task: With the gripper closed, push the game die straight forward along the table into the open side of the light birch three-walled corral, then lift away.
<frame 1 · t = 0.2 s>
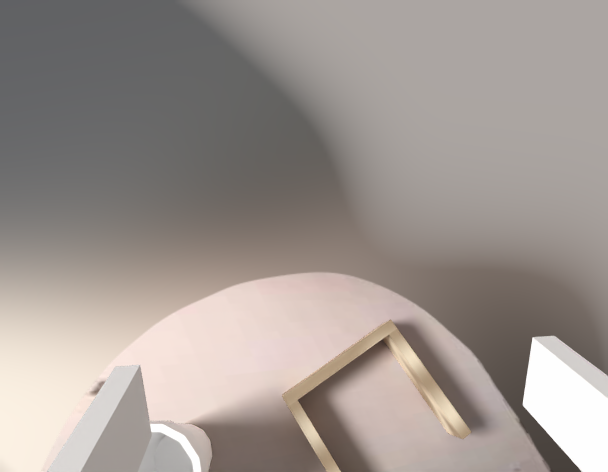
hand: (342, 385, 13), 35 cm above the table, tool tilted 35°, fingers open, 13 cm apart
foam cup: (184, 454, 43), on the table
corral: (371, 415, 45), on the table
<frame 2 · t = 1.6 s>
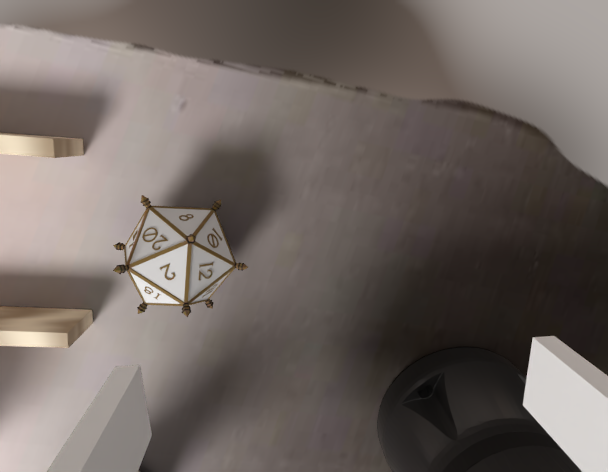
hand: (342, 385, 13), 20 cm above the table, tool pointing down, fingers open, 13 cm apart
game die: (191, 241, 32), on the table
corral: (0, 231, 30), on the table
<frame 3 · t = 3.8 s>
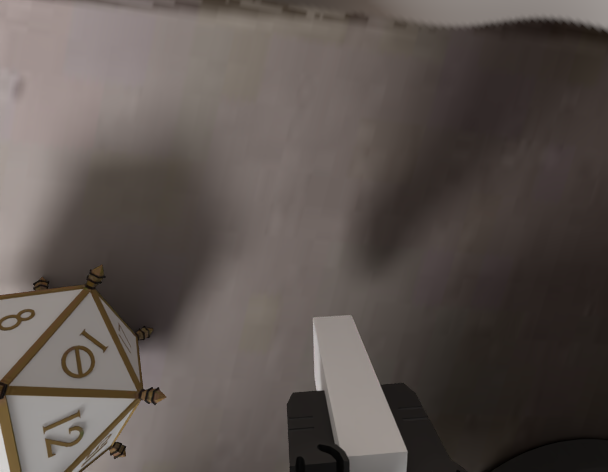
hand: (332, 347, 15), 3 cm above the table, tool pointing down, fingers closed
game die: (87, 328, 18), on the table
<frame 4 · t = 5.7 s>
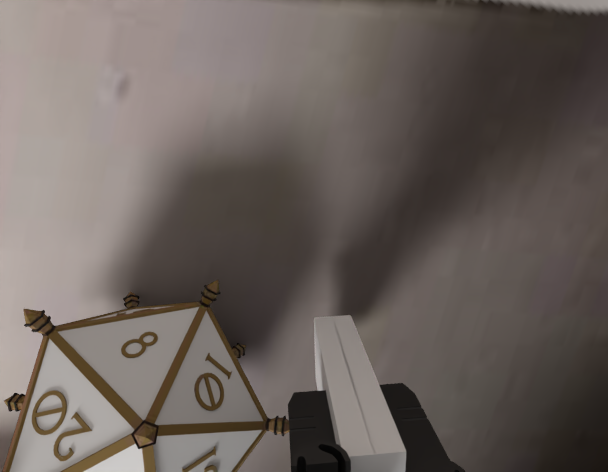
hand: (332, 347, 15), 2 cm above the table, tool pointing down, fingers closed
game die: (175, 345, 17), on the table, touching gripper
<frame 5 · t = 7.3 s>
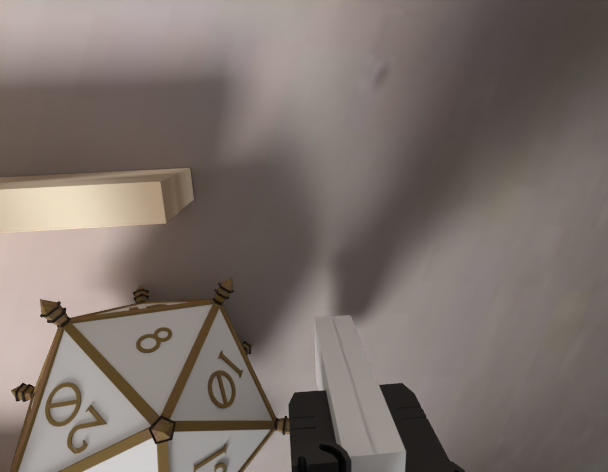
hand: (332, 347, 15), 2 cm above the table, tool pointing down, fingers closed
game die: (181, 341, 17), on the table, touching gripper
corral: (54, 356, 16), on the table
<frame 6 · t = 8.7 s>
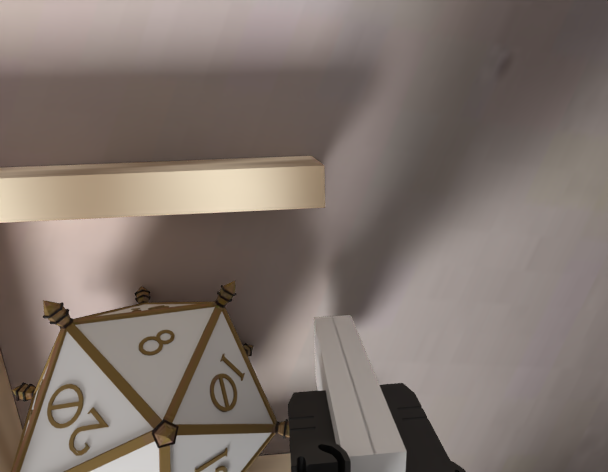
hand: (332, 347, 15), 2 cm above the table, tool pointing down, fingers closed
game die: (182, 342, 17), on the table, touching gripper
corral: (162, 342, 16), on the table
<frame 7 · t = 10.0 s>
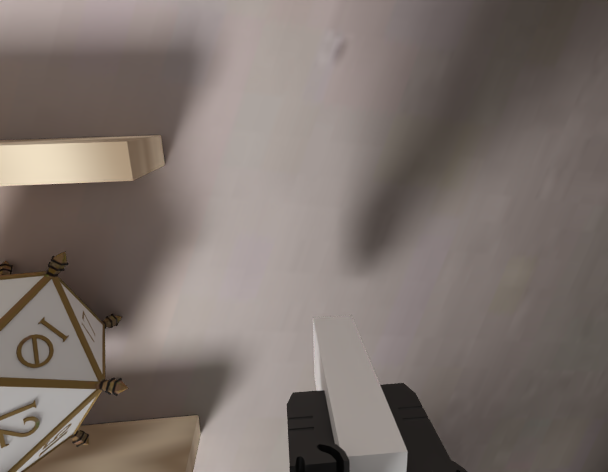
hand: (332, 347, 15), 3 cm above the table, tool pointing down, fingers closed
game die: (54, 313, 18), on the table
corral: (34, 313, 17), on the table
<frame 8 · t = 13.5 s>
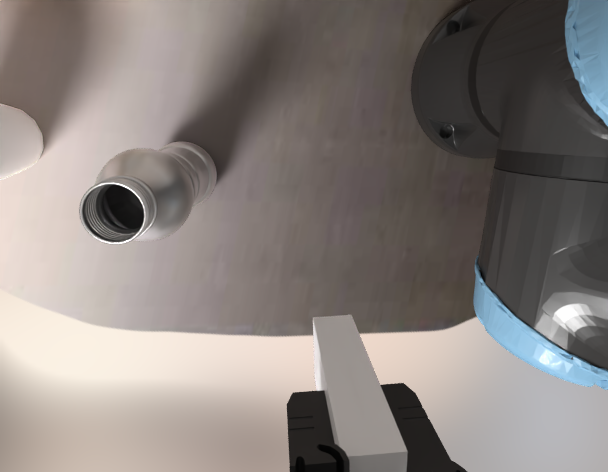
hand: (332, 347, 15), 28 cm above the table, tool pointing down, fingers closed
foam cup: (11, 138, 39), on the table
plastic bottle: (188, 172, 41), on the table
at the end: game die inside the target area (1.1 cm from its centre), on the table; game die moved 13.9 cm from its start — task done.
